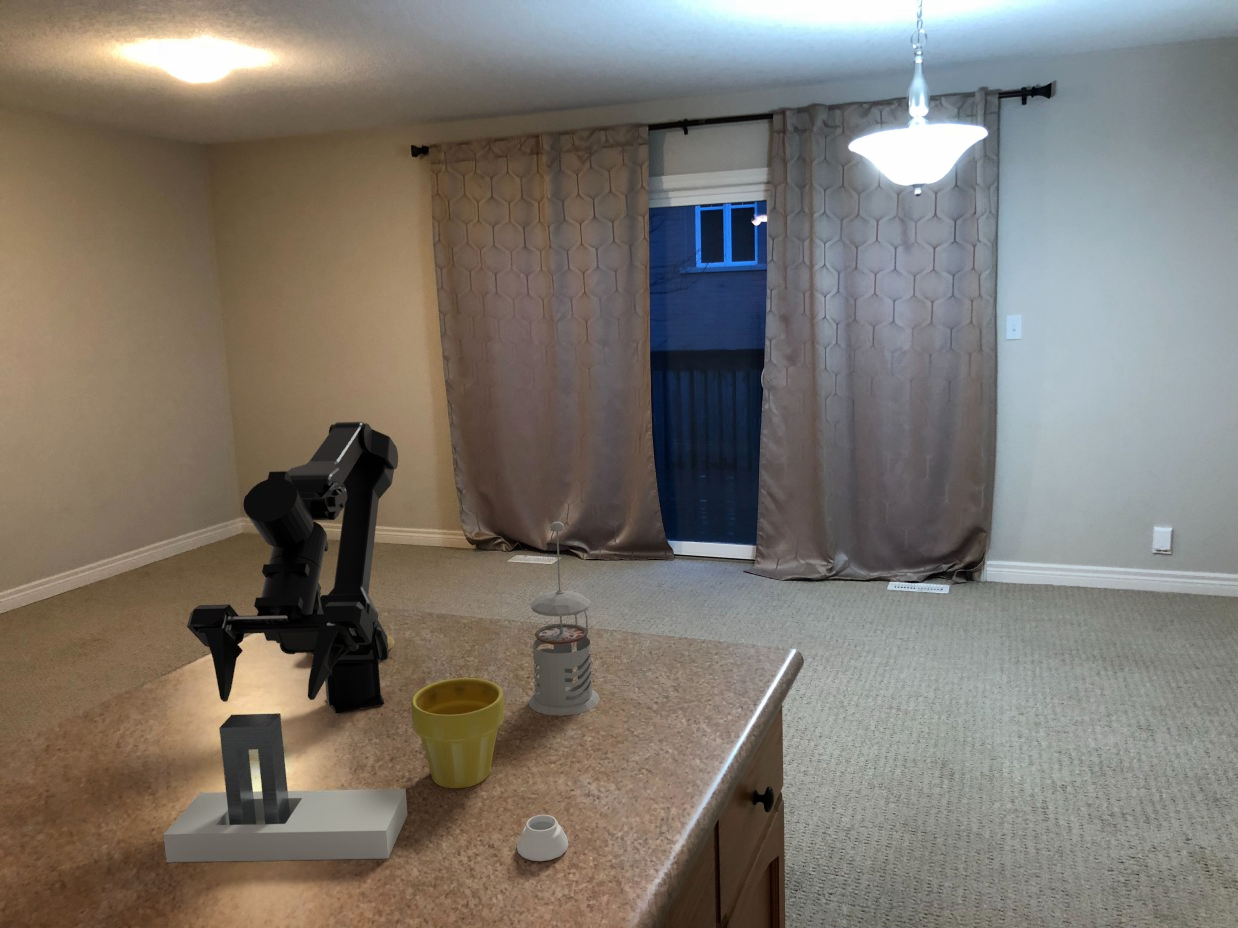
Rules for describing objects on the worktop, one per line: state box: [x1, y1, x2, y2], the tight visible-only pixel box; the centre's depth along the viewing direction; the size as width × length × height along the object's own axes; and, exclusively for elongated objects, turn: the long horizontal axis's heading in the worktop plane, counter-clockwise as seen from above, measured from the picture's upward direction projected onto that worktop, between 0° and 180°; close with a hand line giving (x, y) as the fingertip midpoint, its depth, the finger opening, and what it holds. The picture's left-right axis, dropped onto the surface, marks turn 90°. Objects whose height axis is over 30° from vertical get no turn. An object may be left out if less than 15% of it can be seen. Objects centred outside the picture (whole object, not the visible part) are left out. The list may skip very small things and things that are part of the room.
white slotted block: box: [163, 788, 408, 863], centre depth 97 cm, size 8×22×3 cm, turn 89°
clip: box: [218, 712, 290, 825], centre depth 96 cm, size 3×5×12 cm, turn 90°
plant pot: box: [410, 677, 505, 789], centre depth 108 cm, size 10×10×10 cm
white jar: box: [516, 814, 569, 862], centre depth 94 cm, size 5×3×5 cm
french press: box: [527, 521, 601, 717], centre depth 127 cm, size 10×12×25 cm
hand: (267, 699), depth 99 cm, fingers open, 9 cm apart
